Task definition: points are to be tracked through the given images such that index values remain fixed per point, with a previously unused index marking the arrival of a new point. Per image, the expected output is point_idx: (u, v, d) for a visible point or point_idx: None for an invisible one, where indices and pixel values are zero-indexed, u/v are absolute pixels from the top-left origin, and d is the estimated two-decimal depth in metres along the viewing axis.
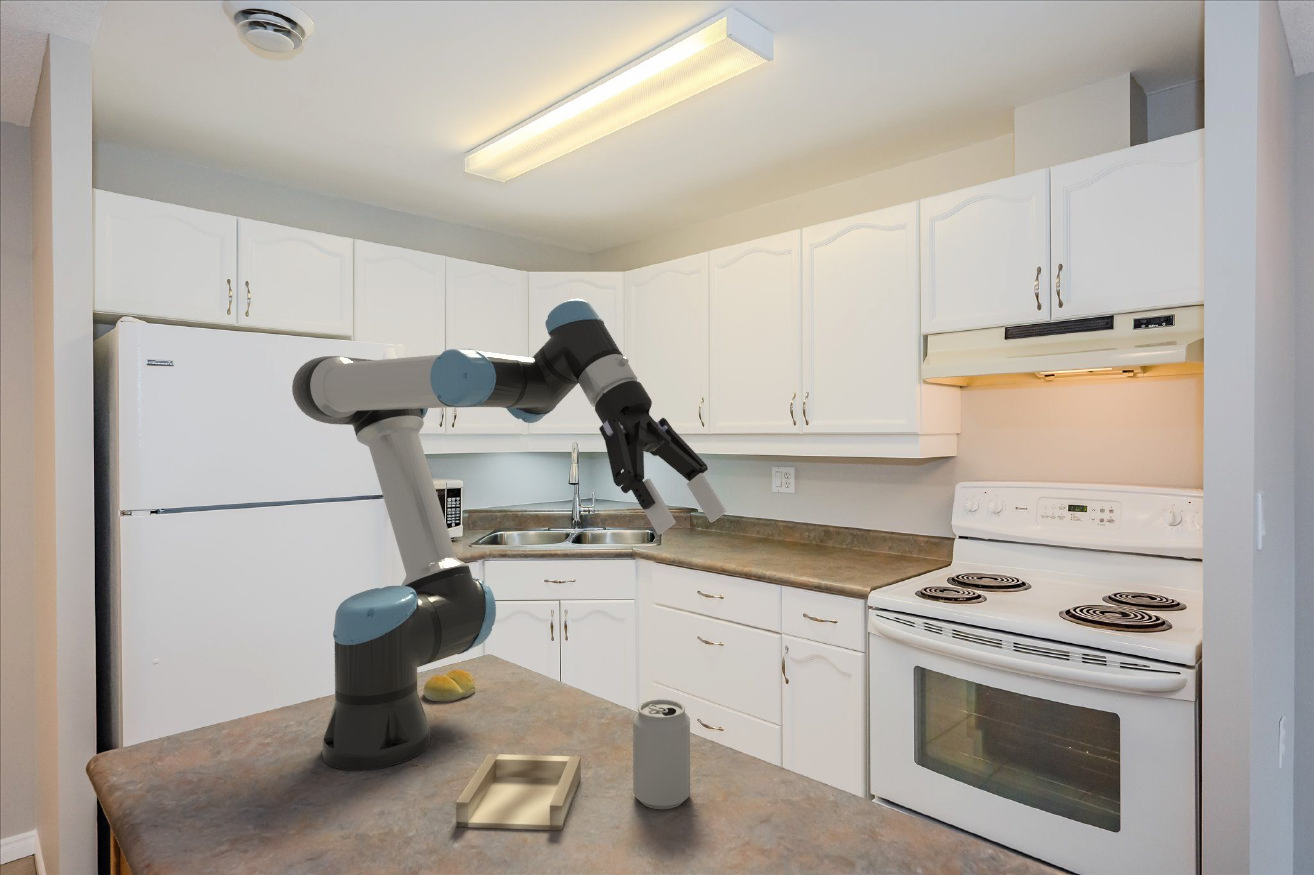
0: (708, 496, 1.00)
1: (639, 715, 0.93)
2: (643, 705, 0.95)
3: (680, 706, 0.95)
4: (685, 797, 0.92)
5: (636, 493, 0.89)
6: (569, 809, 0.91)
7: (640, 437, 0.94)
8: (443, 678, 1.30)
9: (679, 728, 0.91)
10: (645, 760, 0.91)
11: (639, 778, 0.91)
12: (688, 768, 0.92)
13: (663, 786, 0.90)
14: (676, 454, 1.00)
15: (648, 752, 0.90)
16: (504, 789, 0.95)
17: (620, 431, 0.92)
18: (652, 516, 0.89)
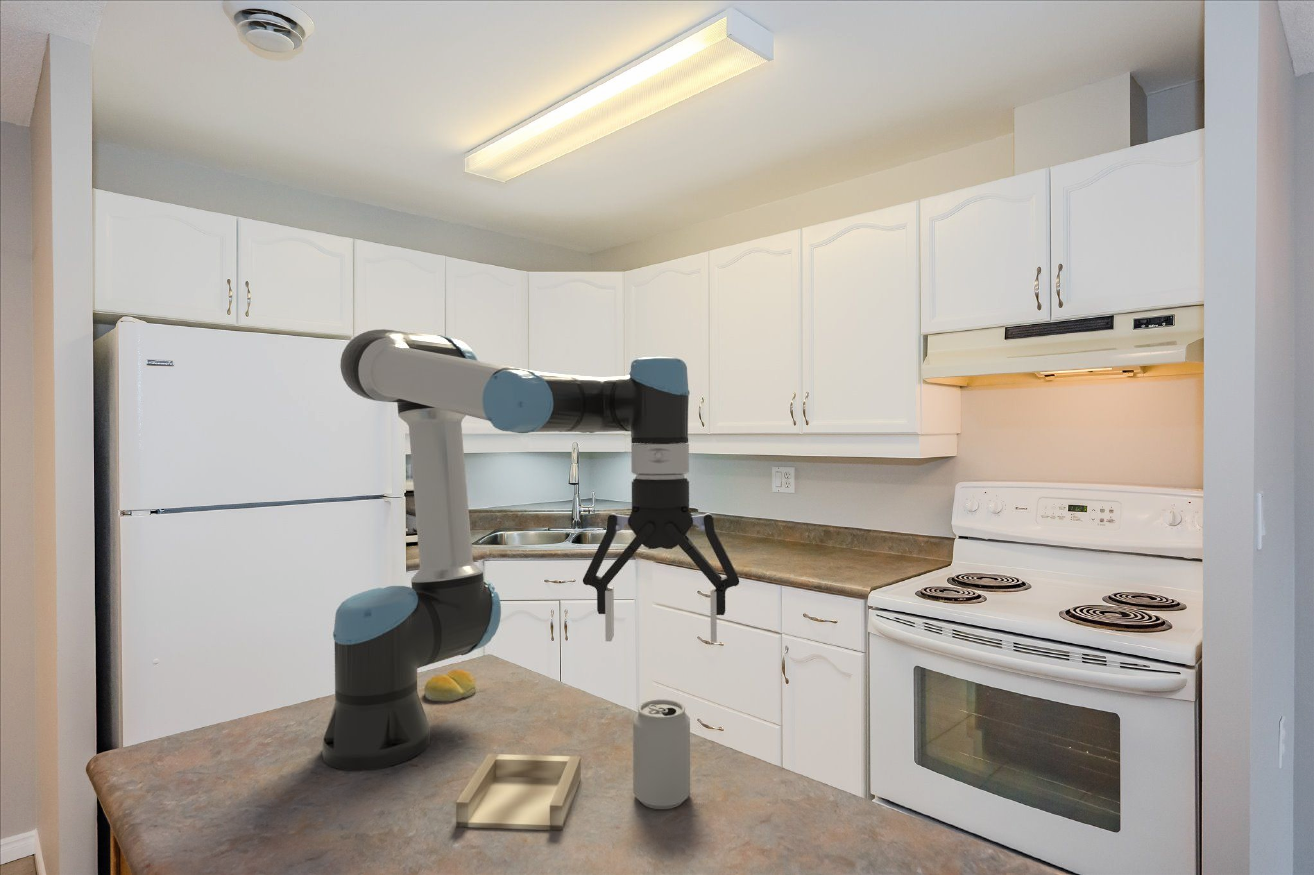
0: None
1: (639, 715, 0.93)
2: (643, 705, 0.95)
3: (680, 706, 0.95)
4: (685, 797, 0.92)
5: None
6: (569, 809, 0.91)
7: (632, 544, 0.92)
8: (444, 678, 1.30)
9: (678, 728, 0.91)
10: (645, 761, 0.91)
11: (639, 778, 0.91)
12: (688, 768, 0.92)
13: (663, 786, 0.90)
14: (694, 562, 0.93)
15: (648, 752, 0.90)
16: (504, 789, 0.95)
17: (610, 533, 0.93)
18: None
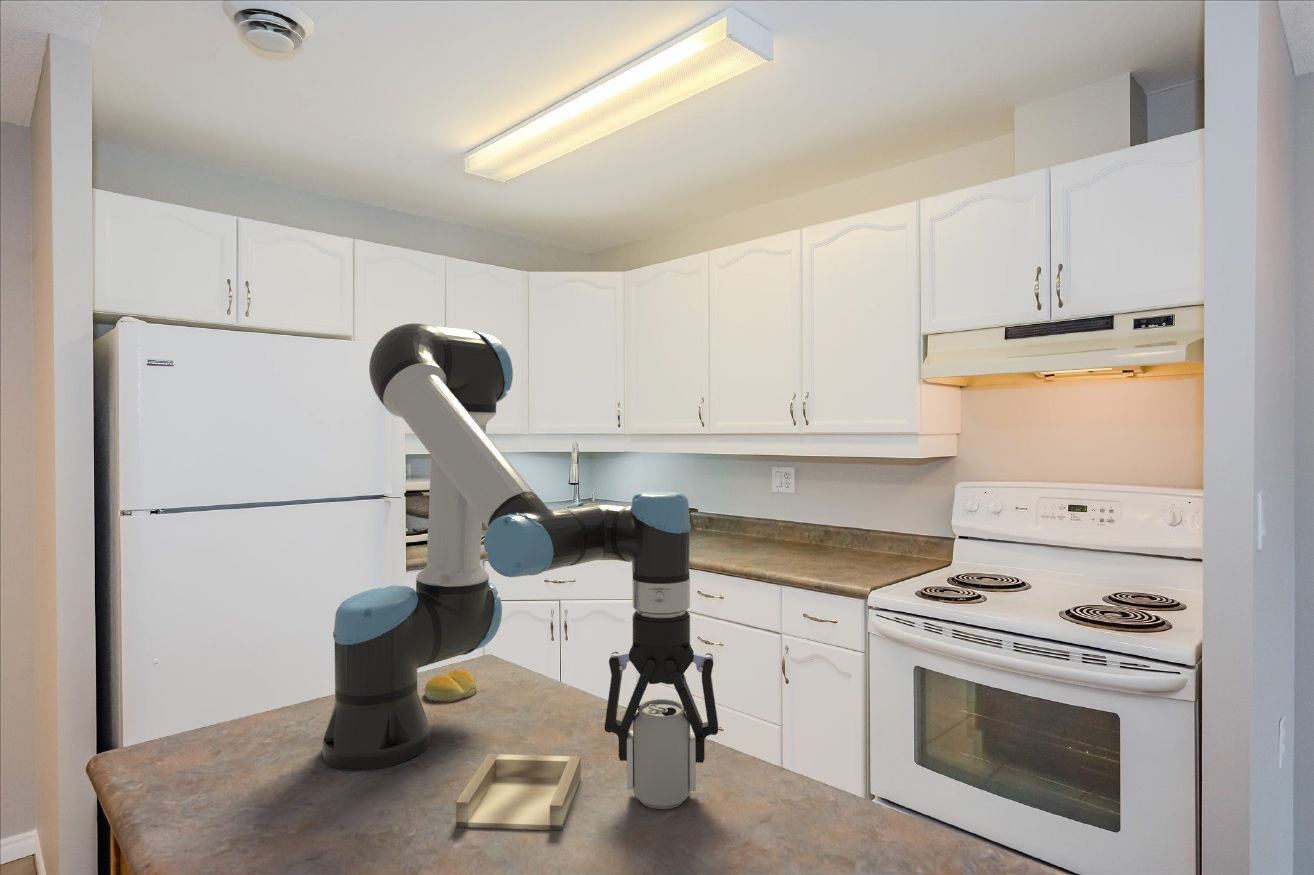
0: None
1: (639, 715, 0.93)
2: (643, 705, 0.95)
3: (680, 706, 0.95)
4: (685, 797, 0.92)
5: None
6: (569, 809, 0.91)
7: (639, 685, 0.92)
8: (444, 678, 1.30)
9: (678, 728, 0.91)
10: (645, 760, 0.91)
11: (639, 778, 0.91)
12: (688, 768, 0.92)
13: (663, 786, 0.90)
14: (682, 703, 0.93)
15: (648, 752, 0.90)
16: (504, 789, 0.95)
17: (616, 676, 0.93)
18: None
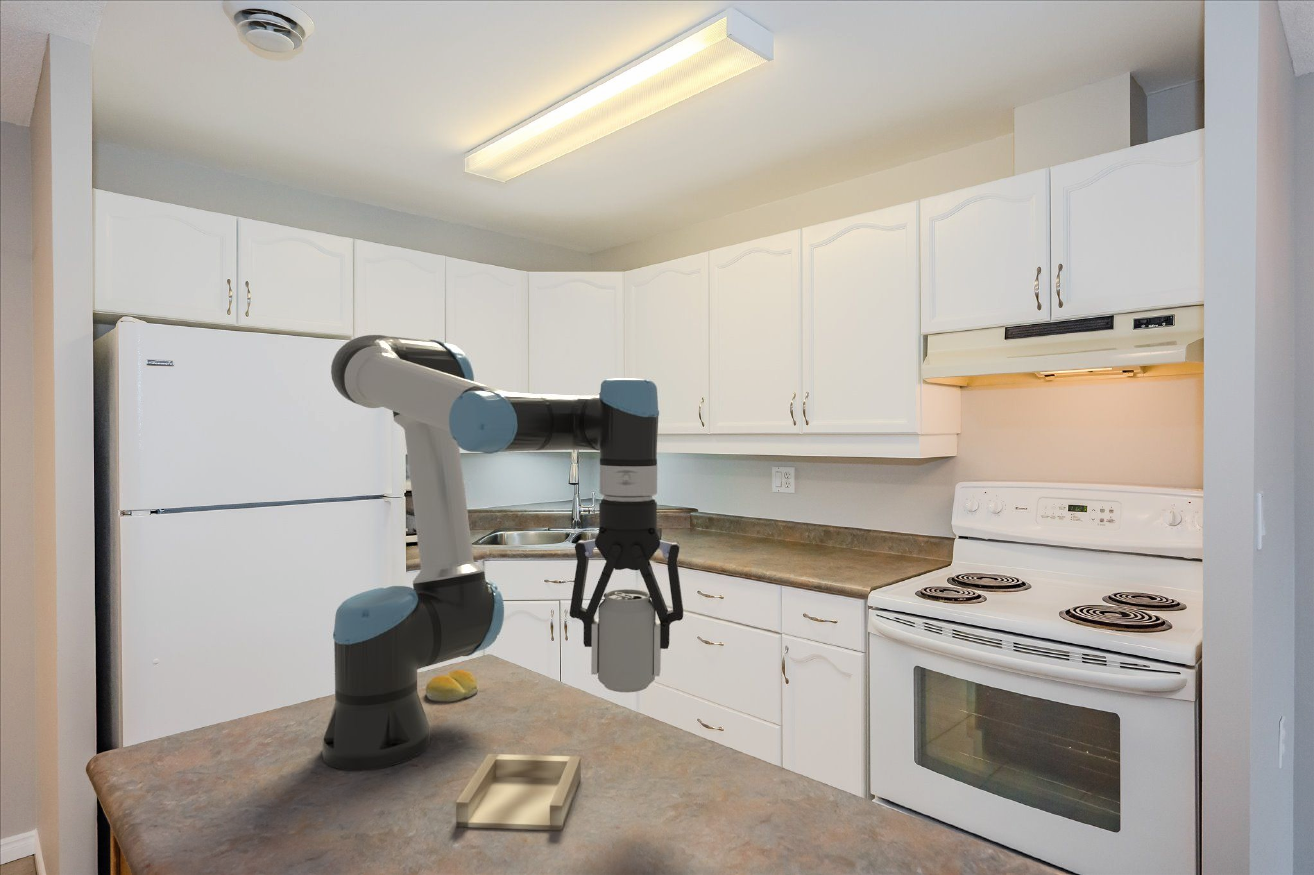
0: None
1: (605, 601, 0.93)
2: (609, 593, 0.95)
3: (646, 594, 0.95)
4: (649, 681, 0.92)
5: None
6: (569, 809, 0.91)
7: (604, 570, 0.92)
8: (445, 678, 1.30)
9: (643, 611, 0.91)
10: (610, 644, 0.91)
11: (603, 662, 0.91)
12: (653, 653, 0.93)
13: (627, 669, 0.90)
14: None
15: (613, 635, 0.90)
16: (504, 789, 0.95)
17: (581, 562, 0.93)
18: None
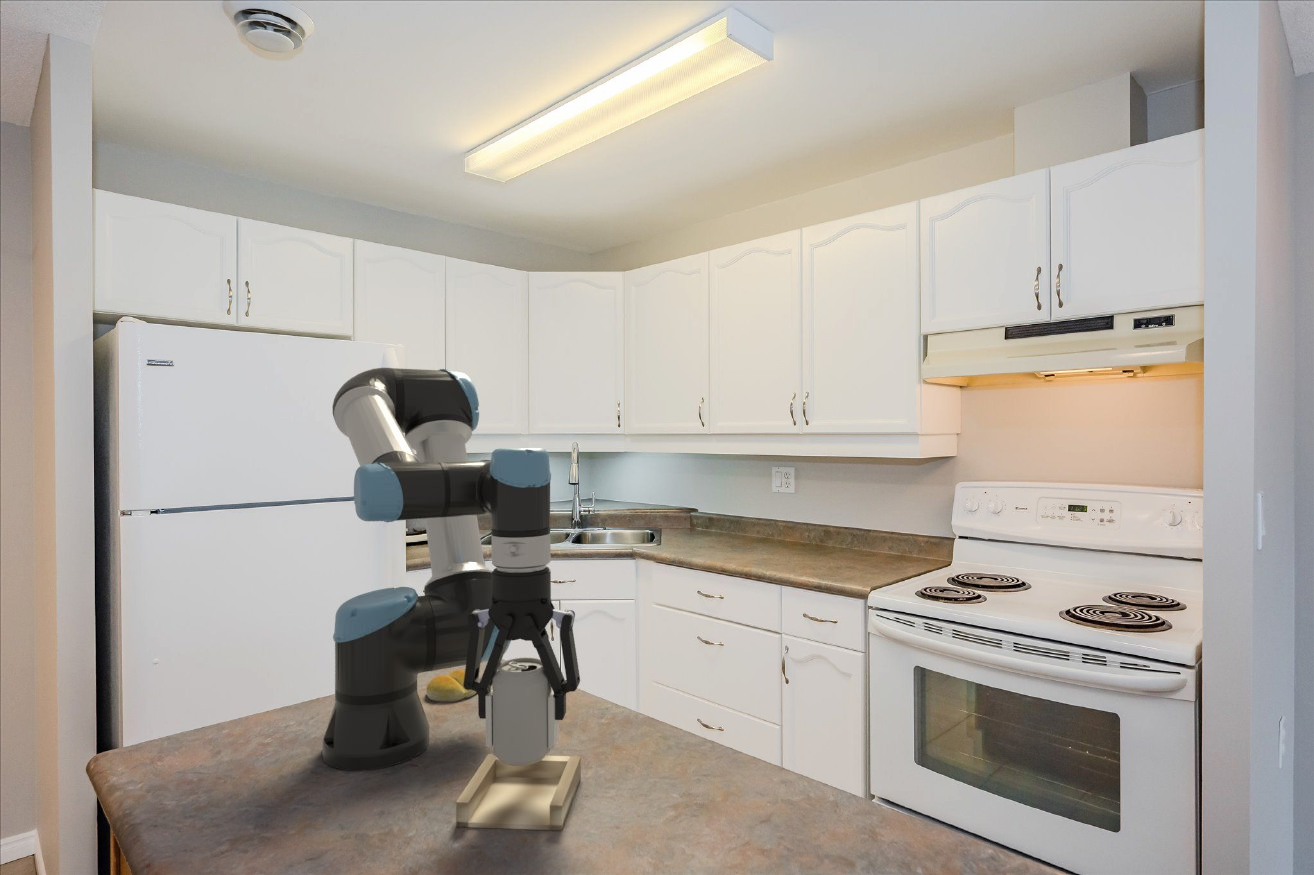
0: None
1: (498, 672, 0.92)
2: (505, 663, 0.94)
3: None
4: (543, 754, 0.91)
5: None
6: (569, 809, 0.91)
7: (497, 641, 0.91)
8: (446, 678, 1.30)
9: (534, 683, 0.90)
10: (501, 717, 0.90)
11: (496, 735, 0.90)
12: (547, 725, 0.91)
13: (518, 742, 0.89)
14: None
15: (504, 708, 0.89)
16: (504, 789, 0.95)
17: (474, 633, 0.92)
18: None
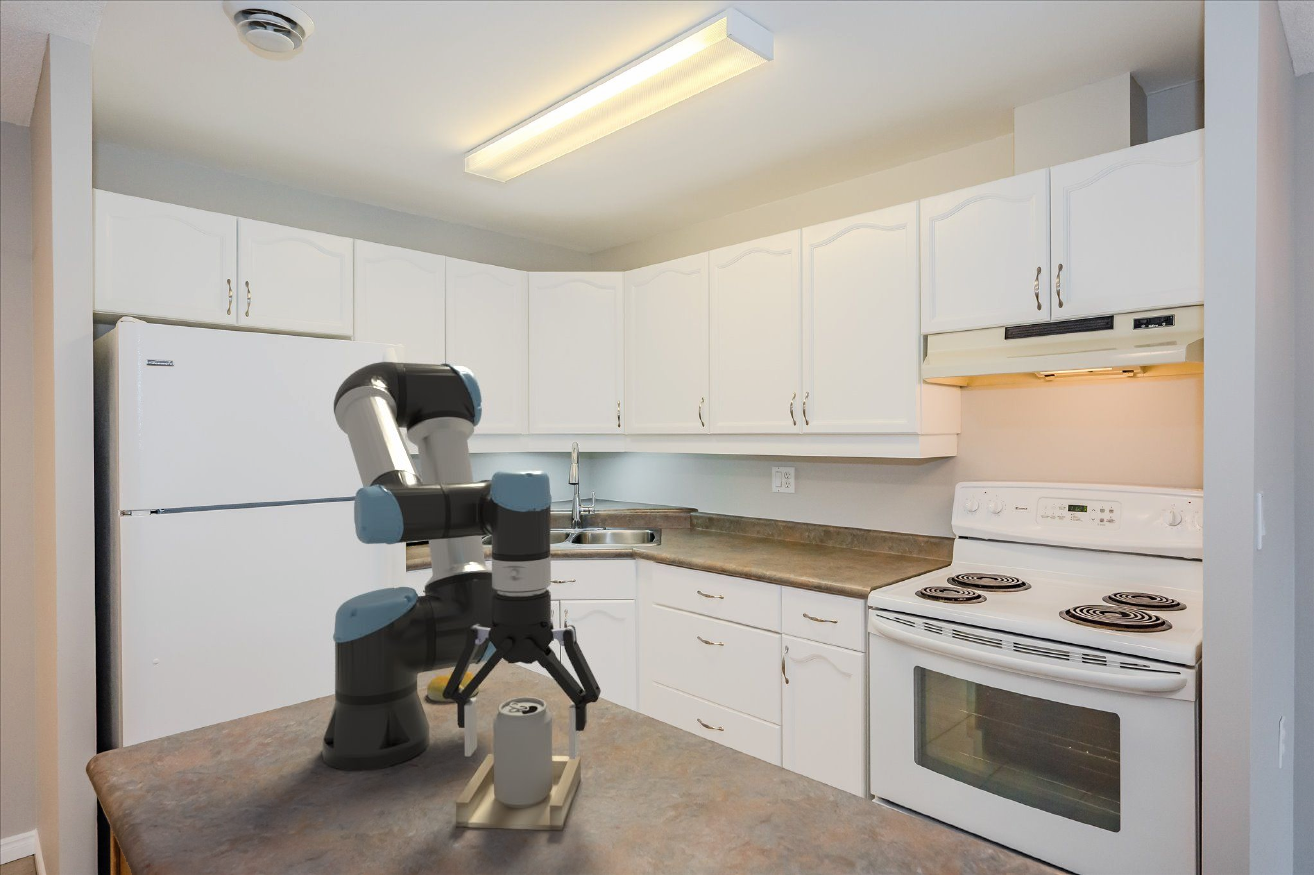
0: None
1: (498, 713, 0.92)
2: (506, 703, 0.94)
3: (543, 704, 0.94)
4: (543, 796, 0.91)
5: None
6: (569, 809, 0.91)
7: (490, 659, 0.91)
8: (447, 678, 1.30)
9: (535, 726, 0.90)
10: (501, 759, 0.90)
11: (496, 777, 0.91)
12: (547, 767, 0.91)
13: (518, 785, 0.89)
14: None
15: (504, 751, 0.90)
16: None
17: (469, 648, 0.92)
18: None
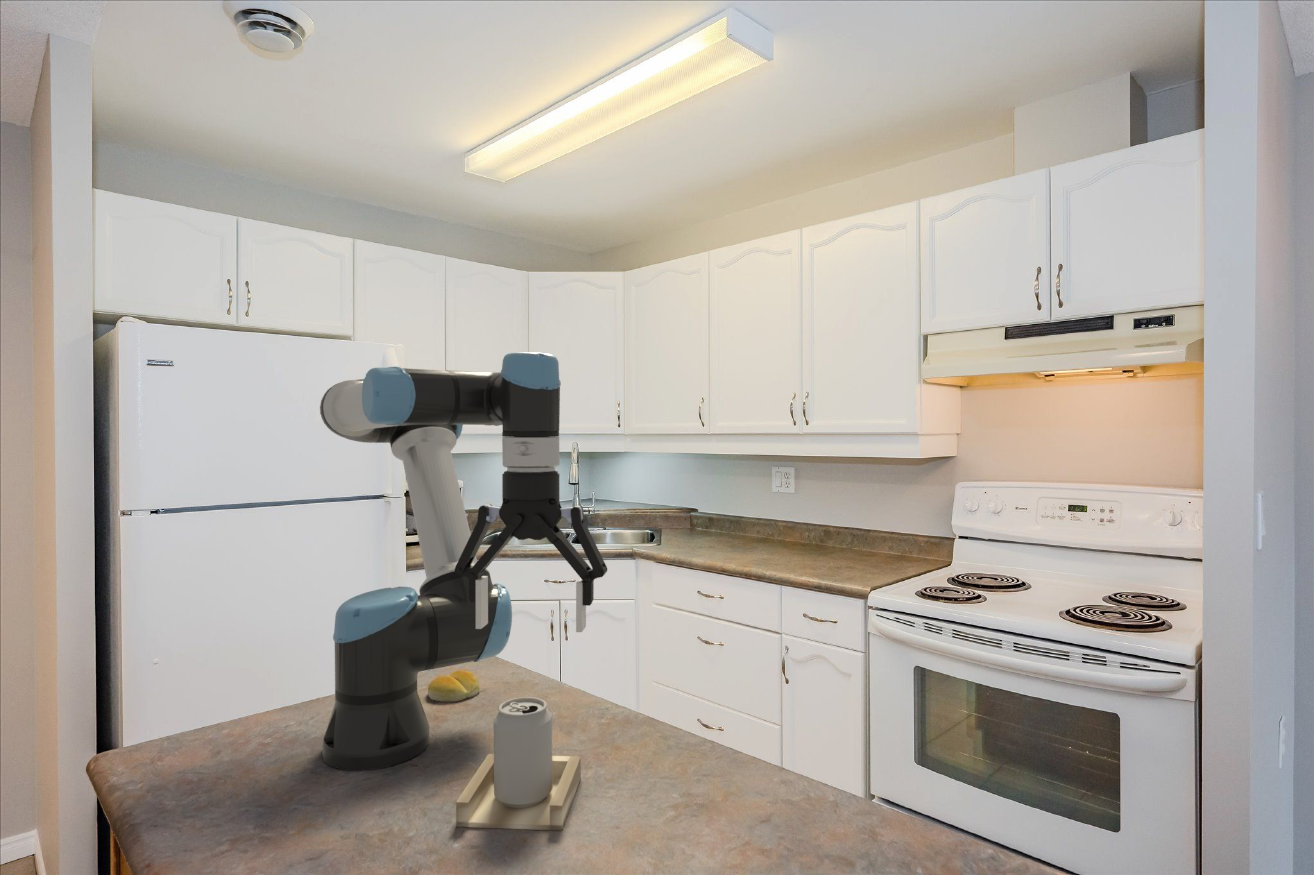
0: None
1: (499, 713, 0.92)
2: (506, 703, 0.94)
3: (543, 704, 0.94)
4: (543, 796, 0.91)
5: None
6: (569, 809, 0.91)
7: (500, 535, 0.94)
8: (448, 678, 1.29)
9: (535, 726, 0.90)
10: (501, 759, 0.90)
11: (496, 777, 0.91)
12: (547, 767, 0.92)
13: (518, 785, 0.89)
14: None
15: (504, 751, 0.90)
16: None
17: (480, 524, 0.95)
18: None
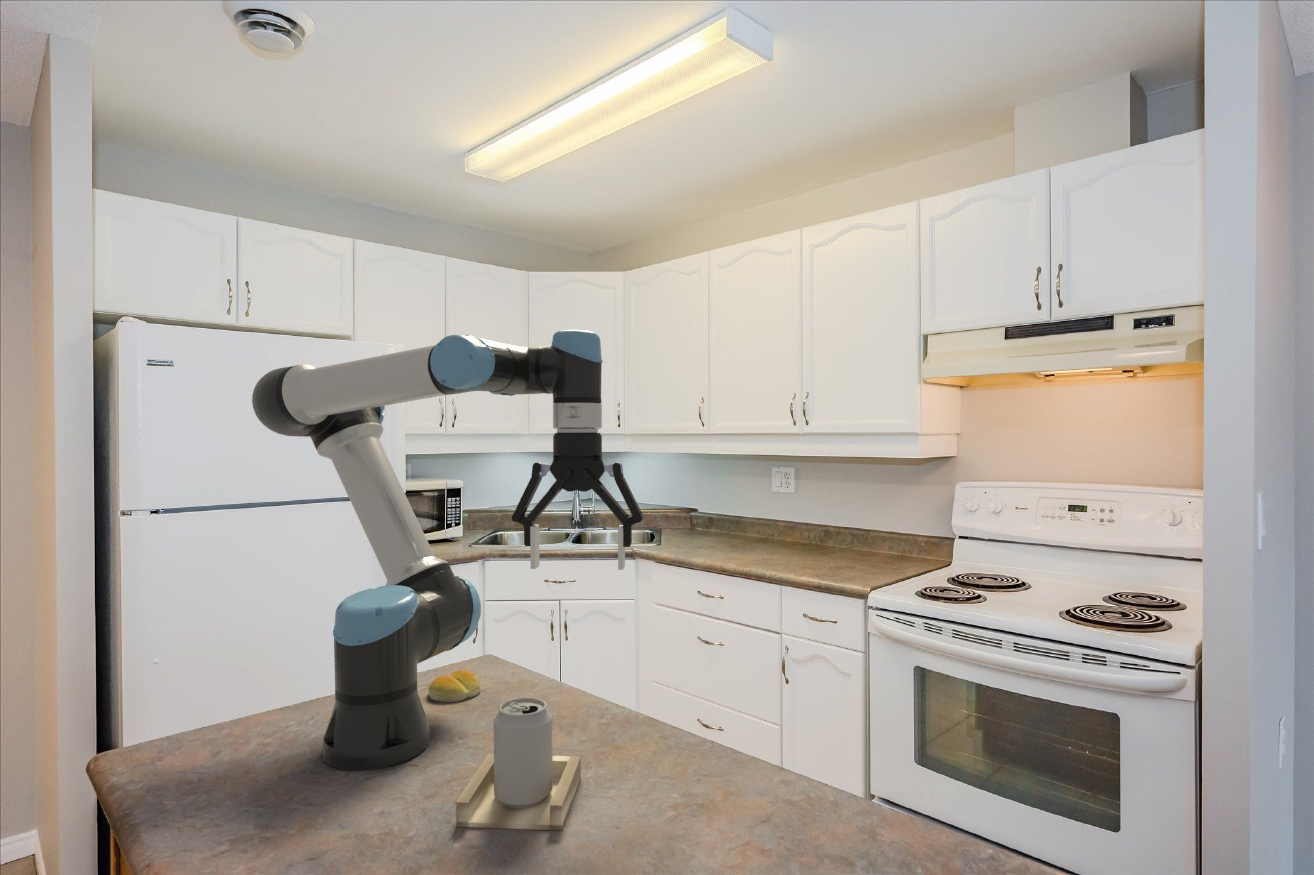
0: None
1: (499, 713, 0.92)
2: (506, 703, 0.94)
3: (543, 704, 0.94)
4: (543, 796, 0.91)
5: None
6: (569, 809, 0.91)
7: (552, 487, 1.10)
8: (448, 678, 1.29)
9: (535, 726, 0.90)
10: (501, 759, 0.90)
11: (496, 777, 0.91)
12: (547, 767, 0.92)
13: (518, 785, 0.89)
14: (605, 502, 1.10)
15: (504, 751, 0.90)
16: None
17: (534, 478, 1.11)
18: None
